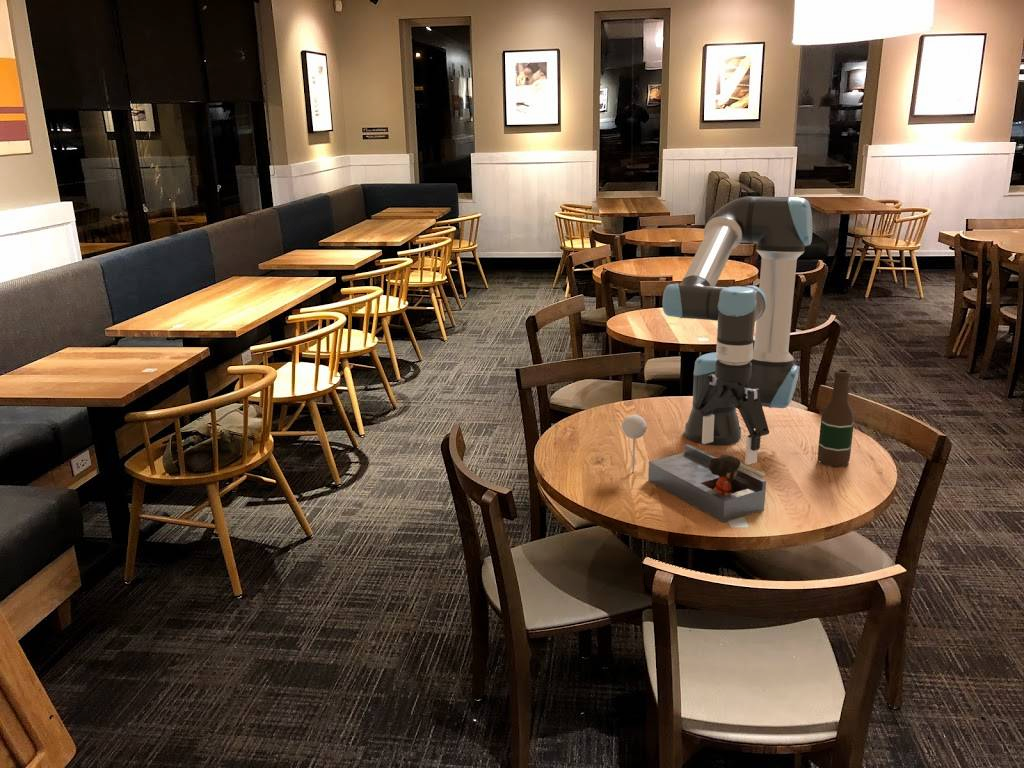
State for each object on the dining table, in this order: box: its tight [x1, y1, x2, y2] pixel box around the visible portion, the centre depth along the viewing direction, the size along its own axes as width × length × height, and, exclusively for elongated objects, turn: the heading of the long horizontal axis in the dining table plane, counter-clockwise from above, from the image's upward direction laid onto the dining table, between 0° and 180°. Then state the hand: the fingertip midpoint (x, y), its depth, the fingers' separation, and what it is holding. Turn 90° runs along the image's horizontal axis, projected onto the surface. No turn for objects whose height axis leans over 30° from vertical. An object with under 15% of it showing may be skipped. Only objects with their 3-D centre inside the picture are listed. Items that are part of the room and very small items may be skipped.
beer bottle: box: [817, 369, 855, 468], centre depth 203 cm, size 8×8×24 cm
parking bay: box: [739, 462, 766, 478], centre depth 201 cm, size 12×12×1 cm
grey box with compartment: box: [647, 443, 767, 523], centre depth 188 cm, size 26×12×7 cm, turn 29°
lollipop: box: [621, 414, 648, 473], centre depth 201 cm, size 6×6×15 cm
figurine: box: [709, 454, 742, 496], centre depth 182 cm, size 6×6×12 cm
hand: (728, 452), depth 180 cm, fingers open, 13 cm apart
